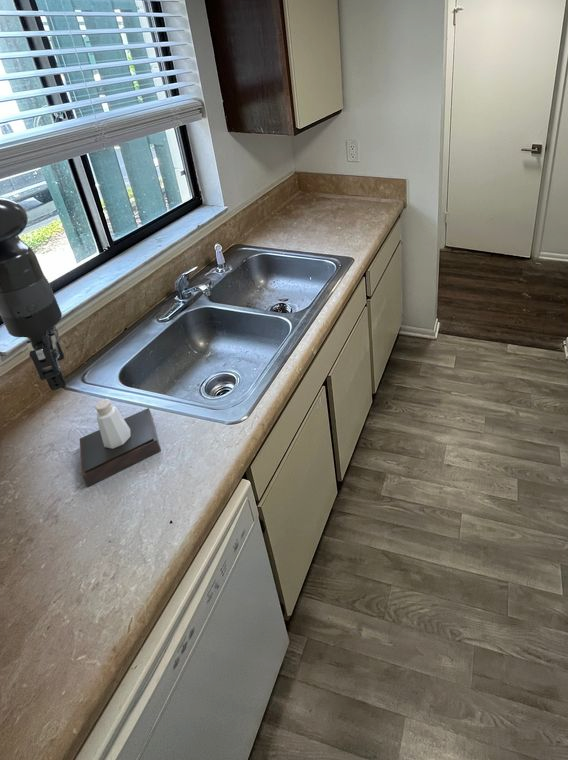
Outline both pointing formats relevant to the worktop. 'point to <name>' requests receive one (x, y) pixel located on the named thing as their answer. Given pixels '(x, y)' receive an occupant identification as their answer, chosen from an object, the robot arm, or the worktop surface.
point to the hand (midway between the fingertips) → (58, 373)
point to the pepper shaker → (111, 424)
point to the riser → (118, 449)
